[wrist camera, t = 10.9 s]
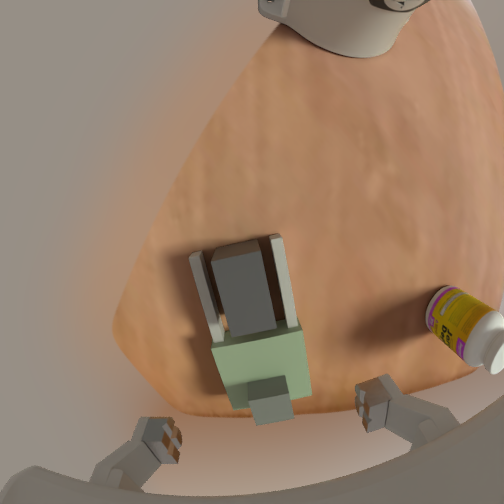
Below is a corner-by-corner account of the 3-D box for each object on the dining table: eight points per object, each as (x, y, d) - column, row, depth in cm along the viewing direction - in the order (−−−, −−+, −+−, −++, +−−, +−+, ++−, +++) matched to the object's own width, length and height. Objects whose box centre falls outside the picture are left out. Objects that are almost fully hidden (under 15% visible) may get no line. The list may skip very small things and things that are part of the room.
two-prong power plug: (189, 253, 27) (175, 271, 21) (281, 232, 26) (292, 246, 21) (233, 393, 31) (233, 428, 25) (306, 379, 31) (317, 412, 25)
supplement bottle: (416, 309, 29) (480, 363, 17) (450, 273, 28) (521, 312, 16) (432, 339, 31) (487, 391, 18) (463, 306, 30) (523, 347, 17)
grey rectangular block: (271, 304, 28) (277, 328, 23) (233, 312, 28) (231, 337, 23) (257, 238, 27) (260, 250, 22) (216, 247, 27) (210, 261, 22)
